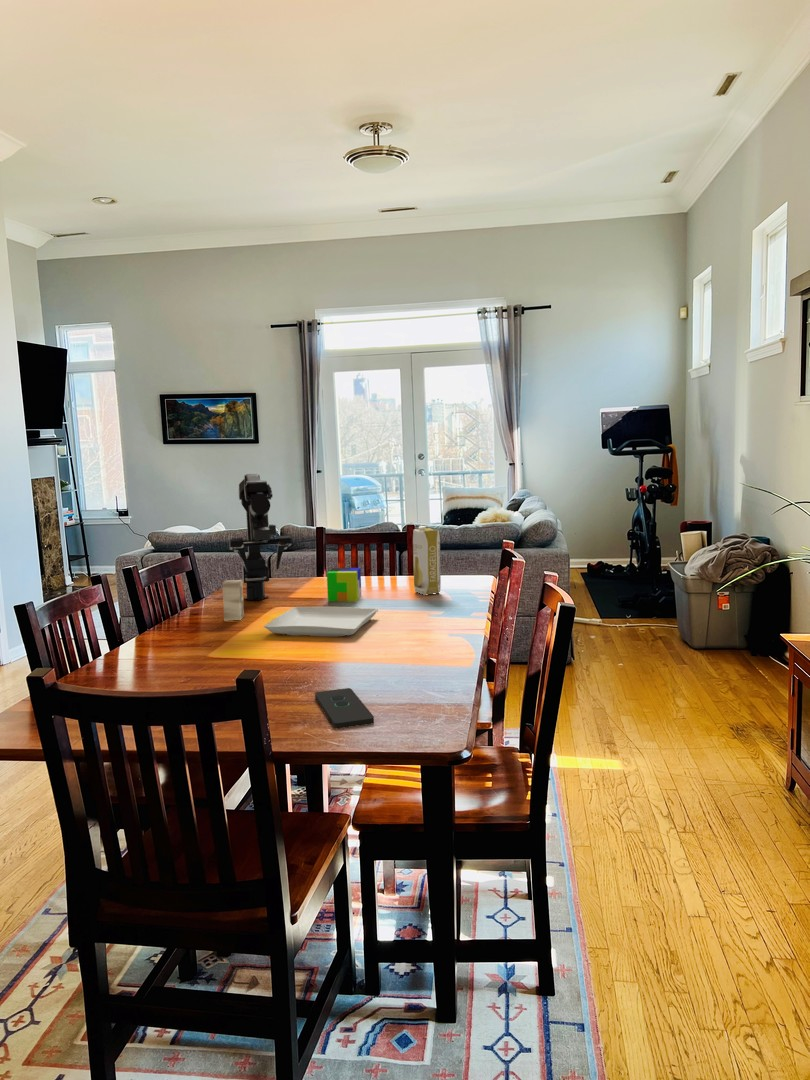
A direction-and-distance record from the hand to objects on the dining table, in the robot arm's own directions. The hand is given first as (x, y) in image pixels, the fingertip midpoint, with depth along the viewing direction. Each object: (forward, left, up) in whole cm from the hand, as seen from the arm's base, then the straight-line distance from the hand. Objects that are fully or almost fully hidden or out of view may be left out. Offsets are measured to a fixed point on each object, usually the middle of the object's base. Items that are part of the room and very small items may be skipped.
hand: (262, 570), depth 242 cm
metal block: (+3, -9, -15) cm, 18 cm away
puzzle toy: (-36, +9, -16) cm, 40 cm away
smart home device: (+64, +63, -16) cm, 91 cm away
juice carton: (-53, +33, -16) cm, 64 cm away
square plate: (+3, +23, -16) cm, 28 cm away
